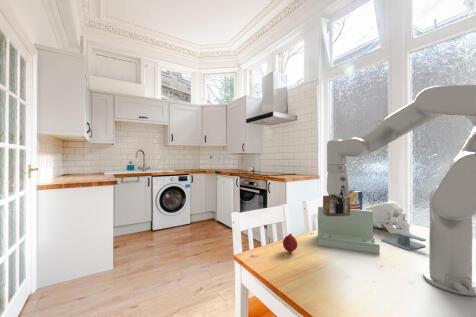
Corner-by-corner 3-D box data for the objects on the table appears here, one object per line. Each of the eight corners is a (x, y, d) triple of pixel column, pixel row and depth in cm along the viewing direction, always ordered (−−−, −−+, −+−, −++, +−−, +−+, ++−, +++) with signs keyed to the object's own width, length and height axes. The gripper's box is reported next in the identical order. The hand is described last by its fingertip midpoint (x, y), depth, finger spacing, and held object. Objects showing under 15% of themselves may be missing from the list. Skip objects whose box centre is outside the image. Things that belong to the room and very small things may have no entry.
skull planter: (408, 235, 102) (388, 198, 110) (371, 242, 118) (356, 208, 126) (421, 231, 109) (402, 196, 116) (384, 238, 124) (369, 206, 132)
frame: (350, 216, 87) (350, 197, 88) (327, 216, 87) (327, 197, 87) (345, 213, 91) (345, 195, 91) (323, 214, 91) (323, 195, 91)
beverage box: (362, 232, 112) (362, 191, 112) (348, 235, 108) (348, 192, 107) (350, 228, 118) (350, 189, 118) (336, 231, 114) (337, 191, 114)
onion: (287, 256, 84) (287, 236, 84) (280, 250, 90) (280, 231, 90) (299, 254, 86) (300, 235, 86) (292, 248, 91) (292, 230, 91)
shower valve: (415, 241, 88) (380, 230, 101) (415, 254, 88) (380, 241, 101) (433, 237, 92) (397, 227, 106) (433, 250, 92) (397, 237, 106)
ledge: (379, 253, 87) (379, 217, 87) (317, 244, 96) (318, 212, 96) (372, 242, 99) (372, 210, 99) (317, 235, 107) (318, 206, 107)
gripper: (357, 169, 81) (357, 217, 81) (335, 168, 98) (335, 207, 98) (338, 169, 81) (338, 217, 81) (319, 168, 97) (319, 207, 97)
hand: (336, 211), depth 89 cm, fingers closed on frame, 3 cm apart
